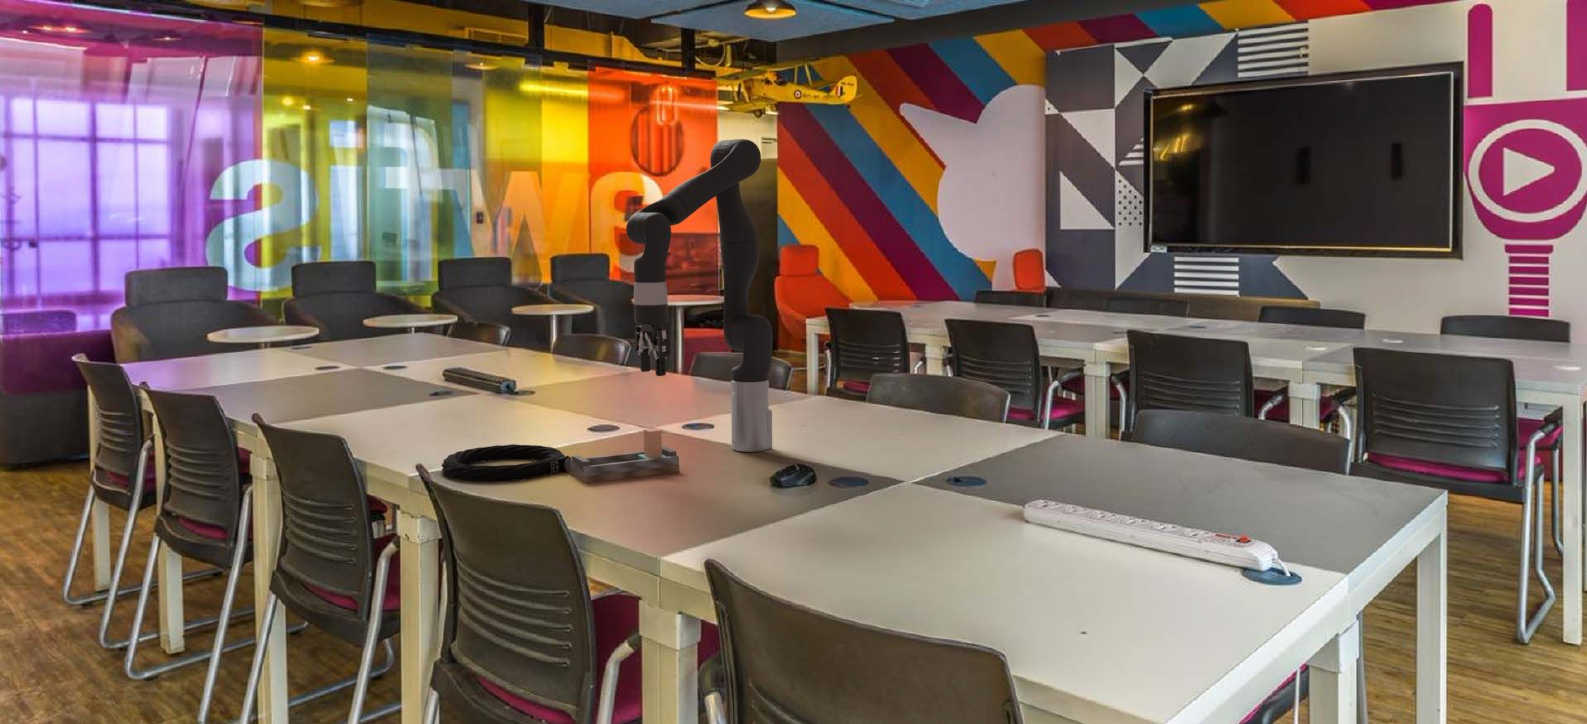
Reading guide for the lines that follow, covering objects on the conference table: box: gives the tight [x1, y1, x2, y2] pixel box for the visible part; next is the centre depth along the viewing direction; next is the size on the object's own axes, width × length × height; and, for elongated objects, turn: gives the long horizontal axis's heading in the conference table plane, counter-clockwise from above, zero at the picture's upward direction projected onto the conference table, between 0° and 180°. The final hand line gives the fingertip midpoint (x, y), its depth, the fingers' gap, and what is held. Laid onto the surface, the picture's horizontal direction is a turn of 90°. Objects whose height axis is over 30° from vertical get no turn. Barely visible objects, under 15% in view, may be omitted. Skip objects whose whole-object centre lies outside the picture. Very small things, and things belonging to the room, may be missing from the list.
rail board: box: [569, 445, 680, 484], centre depth 257 cm, size 22×10×4 cm, turn 120°
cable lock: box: [440, 443, 572, 482], centre depth 262 cm, size 28×4×30 cm
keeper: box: [637, 428, 667, 460], centre depth 260 cm, size 5×6×8 cm
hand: (653, 373), depth 260 cm, fingers open, 8 cm apart
